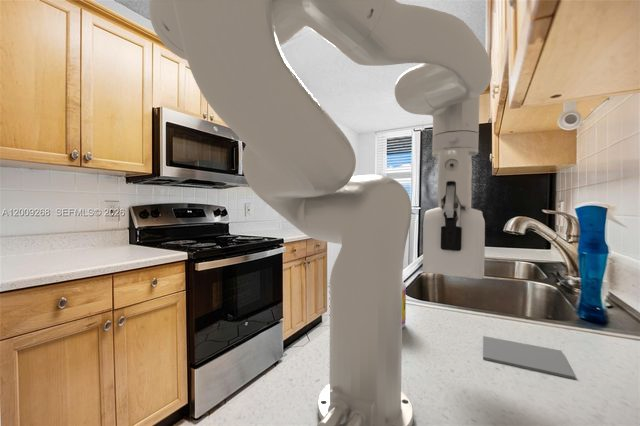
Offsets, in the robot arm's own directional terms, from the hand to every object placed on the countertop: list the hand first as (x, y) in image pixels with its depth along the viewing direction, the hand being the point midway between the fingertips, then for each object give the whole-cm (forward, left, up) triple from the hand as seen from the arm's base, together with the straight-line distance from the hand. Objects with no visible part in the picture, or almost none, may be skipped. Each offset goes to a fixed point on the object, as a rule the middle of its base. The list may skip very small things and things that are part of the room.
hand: (452, 247), depth 54 cm
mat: (+8, -12, -20) cm, 25 cm away
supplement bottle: (+10, +14, -21) cm, 27 cm away
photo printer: (0, 0, -5) cm, 5 cm away
